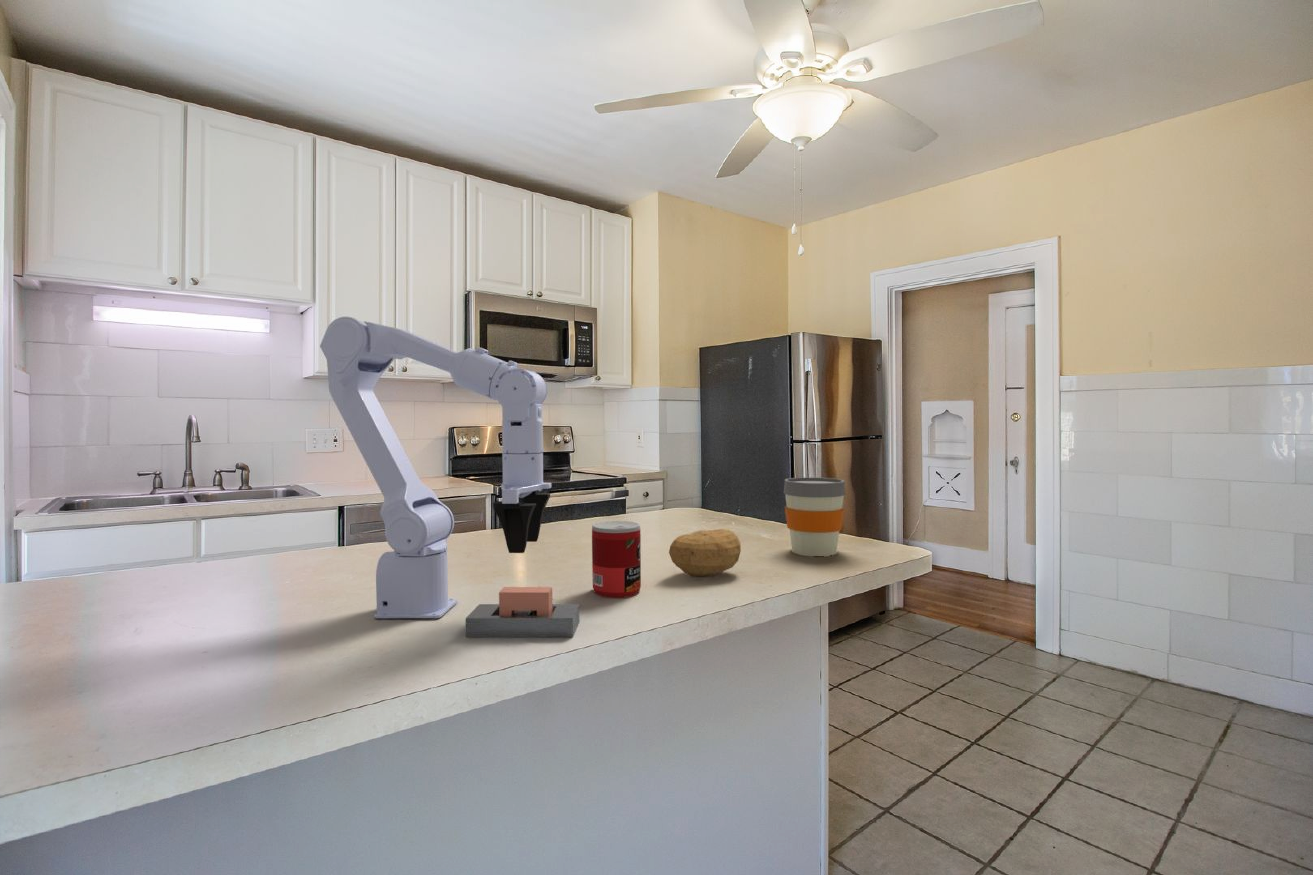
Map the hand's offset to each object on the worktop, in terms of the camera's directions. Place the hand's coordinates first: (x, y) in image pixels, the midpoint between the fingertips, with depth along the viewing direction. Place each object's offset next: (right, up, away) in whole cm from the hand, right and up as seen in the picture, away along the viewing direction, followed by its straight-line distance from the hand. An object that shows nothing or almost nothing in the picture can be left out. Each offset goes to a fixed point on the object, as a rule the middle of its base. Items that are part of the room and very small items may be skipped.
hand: (523, 546), depth 90 cm
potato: (+28, -9, +21) cm, 36 cm away
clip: (+2, -10, -6) cm, 12 cm away
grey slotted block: (+1, -10, -6) cm, 12 cm away
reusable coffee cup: (+52, -8, +40) cm, 66 cm away
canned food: (+13, -10, +12) cm, 20 cm away
